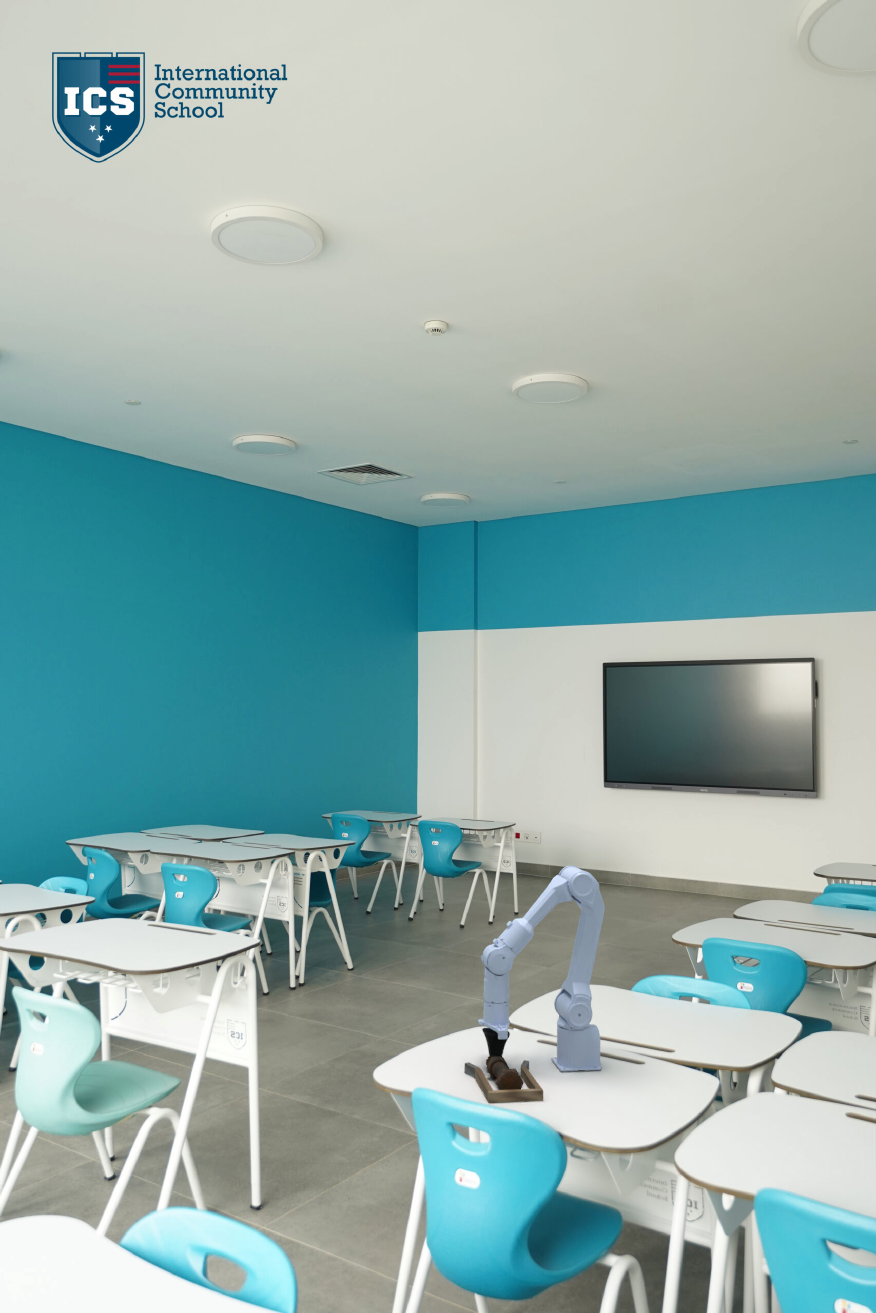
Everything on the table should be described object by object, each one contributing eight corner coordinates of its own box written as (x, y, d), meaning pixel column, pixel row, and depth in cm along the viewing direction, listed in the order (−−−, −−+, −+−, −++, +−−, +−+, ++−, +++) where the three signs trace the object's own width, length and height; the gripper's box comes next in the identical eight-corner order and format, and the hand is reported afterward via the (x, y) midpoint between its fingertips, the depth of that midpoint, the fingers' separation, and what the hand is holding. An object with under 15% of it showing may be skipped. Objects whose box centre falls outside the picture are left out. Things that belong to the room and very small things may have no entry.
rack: (528, 1069, 213) (528, 1059, 213) (550, 1100, 195) (551, 1089, 195) (464, 1071, 210) (464, 1062, 210) (480, 1103, 193) (481, 1093, 193)
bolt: (495, 1079, 211) (514, 1102, 196) (476, 1068, 210) (493, 1091, 196) (508, 1054, 212) (527, 1076, 198) (489, 1044, 212) (507, 1064, 197)
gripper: (472, 991, 220) (471, 1052, 219) (485, 1009, 206) (484, 1074, 205) (502, 990, 221) (501, 1050, 220) (517, 1009, 207) (516, 1073, 206)
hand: (495, 1062), depth 213 cm, fingers closed
